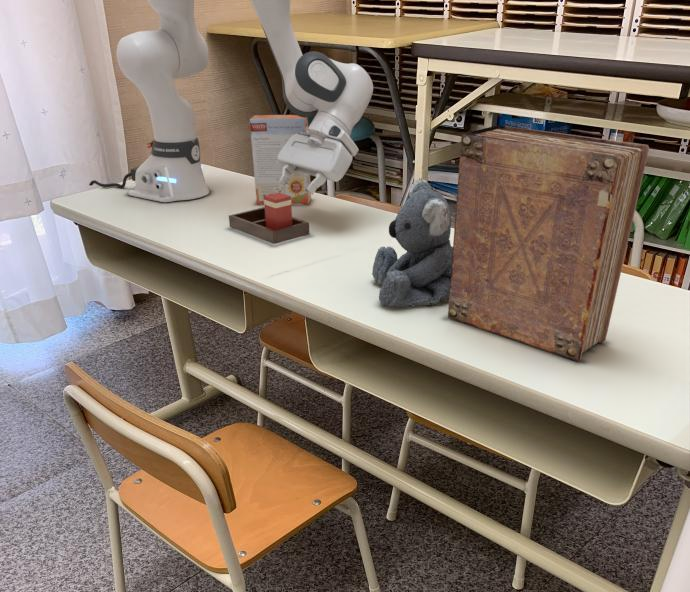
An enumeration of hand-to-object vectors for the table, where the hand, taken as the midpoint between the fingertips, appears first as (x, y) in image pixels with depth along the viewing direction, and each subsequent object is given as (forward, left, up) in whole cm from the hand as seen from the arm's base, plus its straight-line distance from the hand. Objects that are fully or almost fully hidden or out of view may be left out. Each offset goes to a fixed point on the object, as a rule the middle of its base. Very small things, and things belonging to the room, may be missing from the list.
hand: (295, 188), depth 158 cm
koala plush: (+39, -25, -10) cm, 47 cm away
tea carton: (-2, -5, -9) cm, 11 cm away
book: (+60, -35, -10) cm, 71 cm away
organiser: (-6, -3, -10) cm, 12 cm away
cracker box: (-15, +22, -10) cm, 29 cm away
